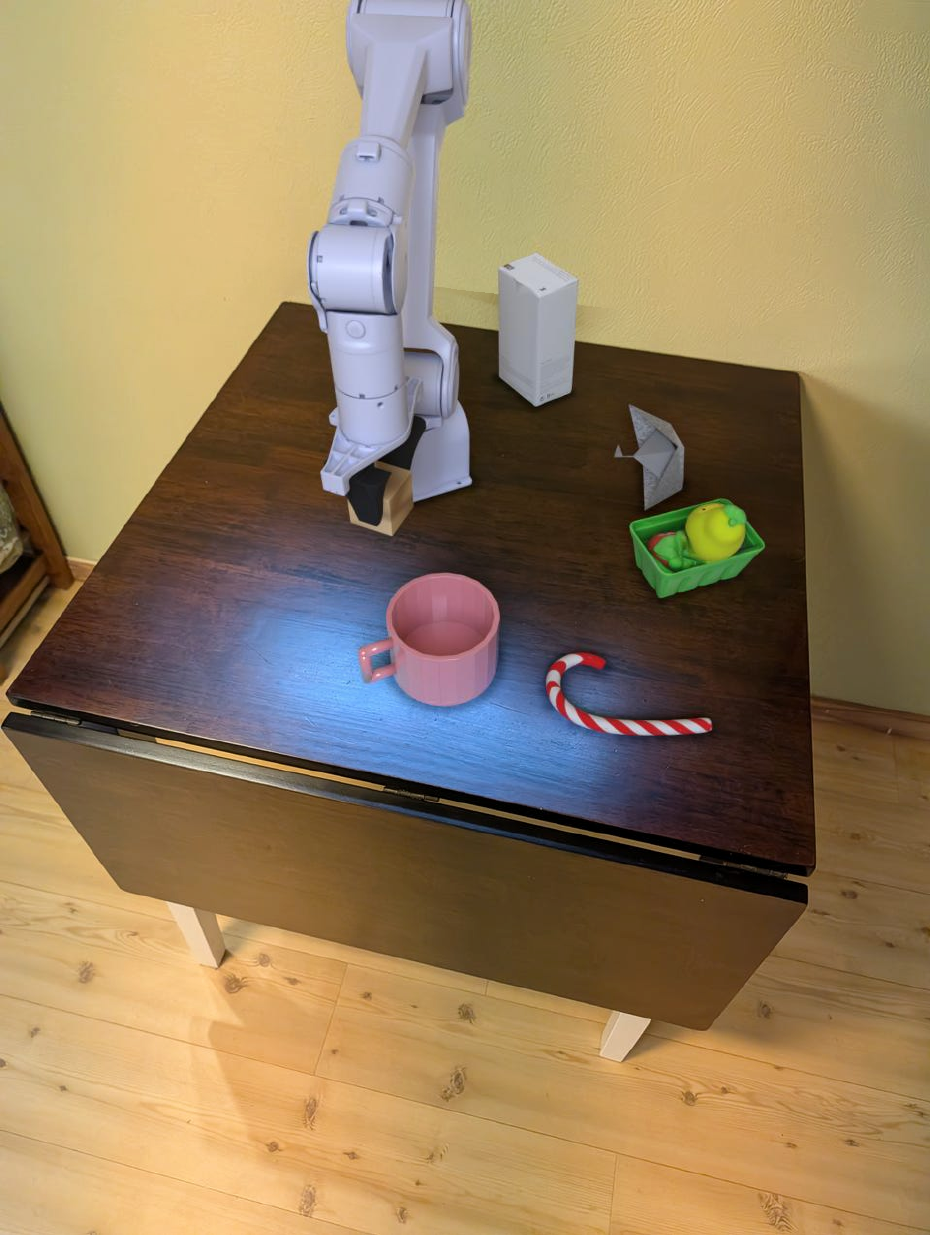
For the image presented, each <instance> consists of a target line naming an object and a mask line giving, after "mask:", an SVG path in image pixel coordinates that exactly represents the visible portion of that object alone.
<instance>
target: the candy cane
mask: <svg viewBox="0 0 930 1235" xmlns="http://www.w3.org/2000/svg"><path fill="white" fill-rule="evenodd" d="M606 663H607V661H606V659H605V658H603V657H601V656H599V655H596V654H593V653H589V652H581V651H579V652H572V653H569V654H566V655H564V656H562V657H560V658H558V659H557V660H556V661H555V662H553V664H552V665H551V666H550V668H549V670H548V672H547V674H546V679H545V689H546V694H547V697H548V699H549V701H550V703H551V705H552V706H553V708H554V709H555V710H556V711H557V712H558V713H559V714H560V715H562V717H564V718H565V719H567V720H568V721H569V722H571V723H573V724H575V725H577V726H580V727H582V728H586V729H588V730H592V731H595V732H599V733H605V734H612V735H625V736H677V735H679V736H680V735H693V734H702V733H708V732H710V731H712V730H713V722H712V720H711V719H710V718H708V717H695V718H682V719H681V718H680V719H660V720H659V719H656V720H652V719H651V720H650V719H648V720H646V719H645V720H643V719H620V718H610V717H603V716H599V715H594V714H591V713H588V712H586V711H583V710H581V709H579V708H578V707H576V706H575V705H573V704H572V703H571V702H569V700H567V698H566V697H565V696H564V694H563V691H562V688H561V680H562V677H563V674H564V673H565V672H566V671H567V670H568V669H570V668H572V667H574V666H579V665H584V666H588V667H591V668H594V669H596V670H603V669H604V667H605V665H606Z"/></svg>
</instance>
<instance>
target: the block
mask: <svg viewBox="0 0 930 1235" xmlns="http://www.w3.org/2000/svg"><path fill="white" fill-rule="evenodd" d="M374 466H375V467H376V468H379V469H382V470H386V471H389V472H392V474H391V475H390V477H389V479H388V481H387V484H386V487H385V491H384V497H383V516H382V520H381V523H380V524H379V525H378V526H373V525H370V524H367V523H364V522H361V521H359V520H358V518H357V516H356V514H355V512H354V510H353V508H352V506H351V504H350V502H349V501H348V499H347V498H346V501H347V507H348V515H349V520H350V523H351V524H353V525H357V526H360V527H363V528H365V529H368V530H372V531H373V532H374V531H375V532H377V533H380V534H384V535H387V536H390V537H394V535H395V534H396V532H397V531H398V529H399V528H400V526H401V525H402V524H403V522H404V521H405V519H406V518H407V516H408V515H409V514H410V512H411V511H412V510H413V508H414V507H415V506H414V502H413V489H412V474H411V471H409V470H406V469H403V468H400V467H396V466H393V465H390V464H386V463H383V462H380V461H377V460H376V461H375V462H374Z"/></svg>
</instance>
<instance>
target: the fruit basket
mask: <svg viewBox="0 0 930 1235" xmlns="http://www.w3.org/2000/svg"><path fill="white" fill-rule="evenodd" d="M629 533H630V536H631V538H632V544H633V552H634V557H635V558H634V559H635V566H637V567H638V569H640V570H641V572H642V576H644V578H645V579H646V581H647V583H648V584H649V585H650V587H651V588H652V589H653V590H655V593H656V596H657V597H658V598H659V599H663V598H667V597H670V596H673V595H675V594H676V593H684V592H688V591H690V590H694V589H696V588H697V587H698V586H699V587H702V586H703V587H704V586H708V585H711V584H712V585H713V584H715V583H717V582H718V581H720V580H723V581H725V580H727V579H732V578H735V577H737V576H738V575H739V573H741V572H742V570H743V569H744V568H746V566H747V565H748V564H749V563H750V562H751V561H752V560H753V558H754V557H756V556H757V555H759V553H761V552H762V551H763V550H764V549H765V548H766V545H765V542H764V540H763V539H762V538H761V537H760V536H759V534H758V533H757V531H755V529H754V528H753V526H752V525H751V524H750V523H749V521H748V520H747V514H746V513H745V511H744V509H742V508H740V507H739V506H737V505H735V504H734V503H733V502H731V501H730V500H729V499H727V498H716V499H714V500H710V501H706V502H702V503H699V504H695V505H691V506H687V507H684V508H680V509H676V510H672V511H669V512H665V513H661V514H657V515H654V516H650V517H646V518H645V517H644V518H641V519H638V520H634V521H632V522H631V523H630V524H629Z"/></svg>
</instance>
